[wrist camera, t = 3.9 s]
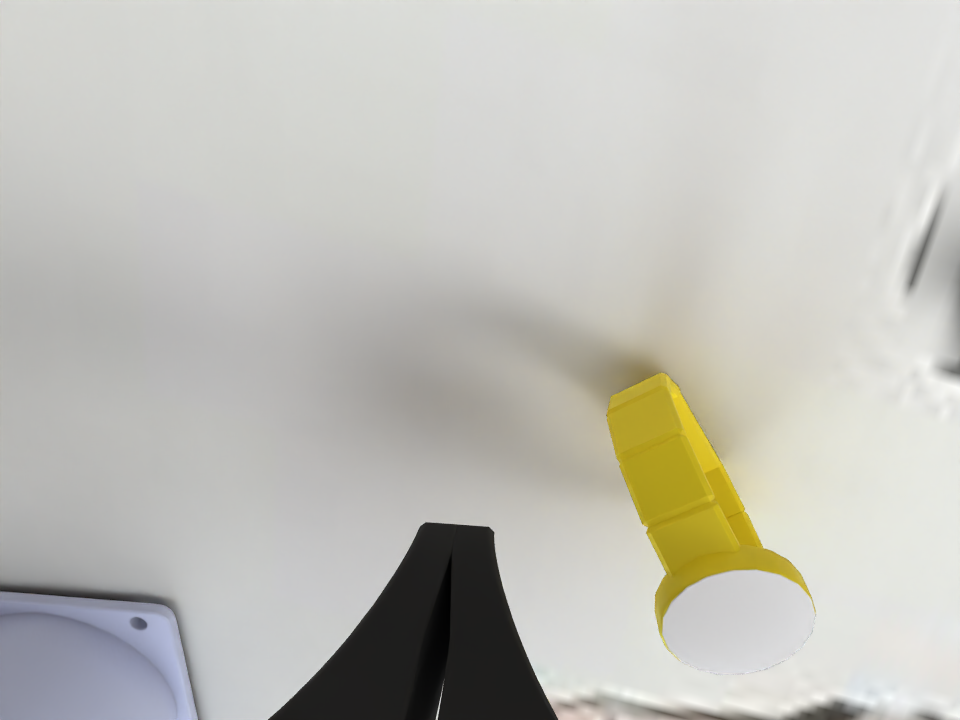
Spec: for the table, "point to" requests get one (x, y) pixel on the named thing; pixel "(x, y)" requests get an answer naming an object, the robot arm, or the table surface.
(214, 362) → the table surface
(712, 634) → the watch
